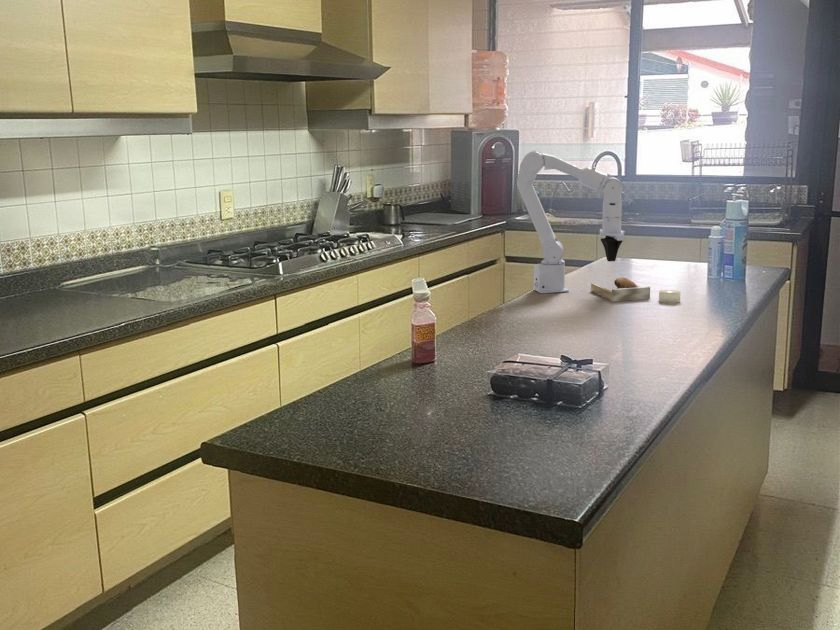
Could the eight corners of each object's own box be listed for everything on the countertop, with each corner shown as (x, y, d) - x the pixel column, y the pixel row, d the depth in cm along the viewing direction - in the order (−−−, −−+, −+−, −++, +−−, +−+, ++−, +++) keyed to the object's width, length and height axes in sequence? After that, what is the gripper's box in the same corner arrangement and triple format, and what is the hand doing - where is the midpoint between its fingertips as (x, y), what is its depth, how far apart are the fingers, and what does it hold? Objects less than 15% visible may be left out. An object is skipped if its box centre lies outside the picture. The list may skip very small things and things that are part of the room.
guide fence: (613, 301, 251) (613, 289, 250) (591, 291, 267) (591, 280, 267) (649, 298, 253) (650, 287, 252) (625, 288, 269) (626, 277, 269)
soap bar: (664, 304, 246) (664, 293, 245) (655, 300, 252) (655, 290, 251) (683, 302, 247) (684, 292, 246) (674, 299, 252) (674, 289, 252)
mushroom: (606, 288, 255) (618, 270, 254) (609, 293, 262) (620, 276, 262) (628, 302, 252) (641, 284, 251) (631, 307, 259) (643, 290, 259)
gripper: (634, 218, 256) (633, 263, 259) (614, 214, 270) (613, 256, 273) (612, 220, 255) (611, 265, 257) (593, 215, 269) (593, 258, 271)
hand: (611, 261), depth 265 cm, fingers closed
